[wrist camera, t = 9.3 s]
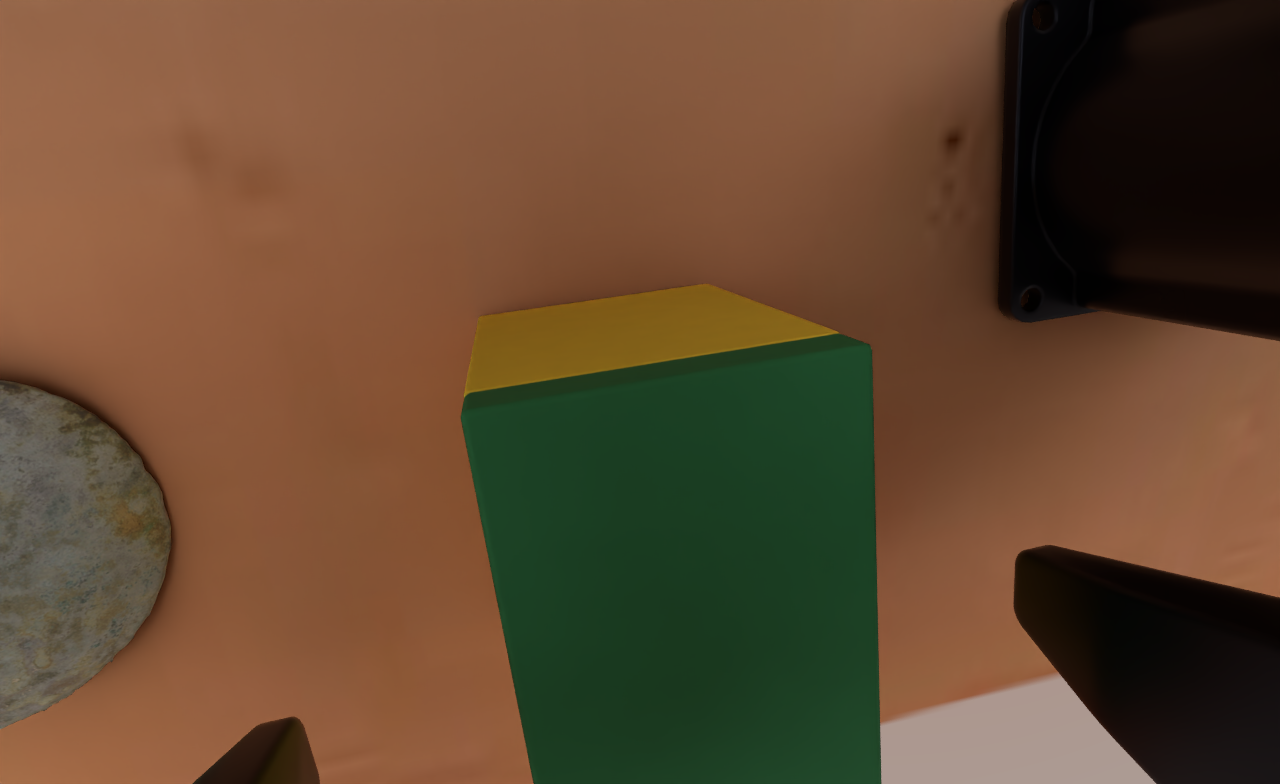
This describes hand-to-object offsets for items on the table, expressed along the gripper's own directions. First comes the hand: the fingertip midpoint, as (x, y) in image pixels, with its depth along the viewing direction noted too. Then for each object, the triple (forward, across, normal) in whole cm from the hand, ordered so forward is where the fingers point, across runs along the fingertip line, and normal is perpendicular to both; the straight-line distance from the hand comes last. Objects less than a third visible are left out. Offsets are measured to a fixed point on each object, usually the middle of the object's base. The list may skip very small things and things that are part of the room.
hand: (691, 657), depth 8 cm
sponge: (+6, 0, 0) cm, 6 cm away
